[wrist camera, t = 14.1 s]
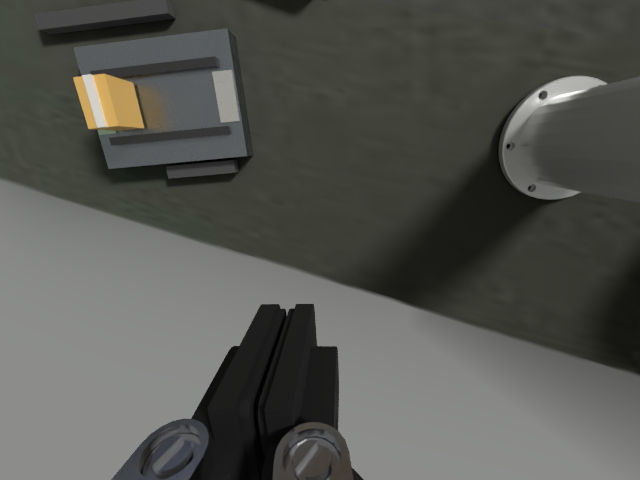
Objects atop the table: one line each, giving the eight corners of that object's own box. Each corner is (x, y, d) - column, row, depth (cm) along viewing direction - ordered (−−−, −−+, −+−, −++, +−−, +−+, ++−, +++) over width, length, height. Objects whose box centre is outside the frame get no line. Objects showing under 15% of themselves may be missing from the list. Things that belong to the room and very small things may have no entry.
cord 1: (172, 2, 31) (165, -4, 29) (175, 18, 31) (168, 13, 30) (45, 19, 32) (33, 14, 30) (50, 34, 32) (38, 29, 31)
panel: (235, 37, 31) (225, 26, 28) (253, 155, 35) (245, 156, 32) (92, 54, 32) (68, 45, 29) (123, 167, 36) (104, 169, 33)
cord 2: (236, 159, 35) (233, 160, 34) (238, 171, 35) (235, 172, 34) (171, 165, 36) (165, 166, 34) (174, 177, 36) (168, 178, 35)
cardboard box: (133, 82, 30) (101, 72, 26) (144, 128, 32) (116, 125, 28) (105, 85, 31) (70, 76, 27) (117, 131, 32) (85, 128, 28)
